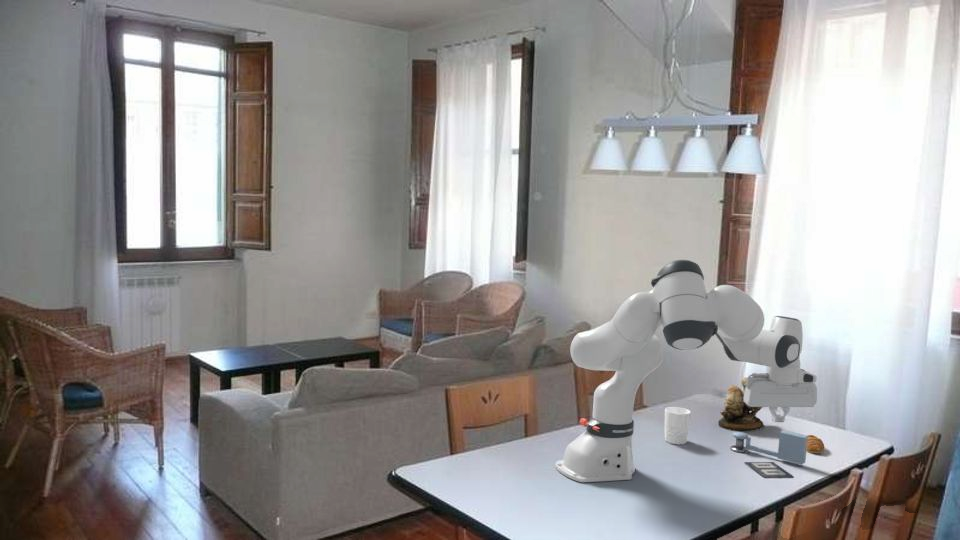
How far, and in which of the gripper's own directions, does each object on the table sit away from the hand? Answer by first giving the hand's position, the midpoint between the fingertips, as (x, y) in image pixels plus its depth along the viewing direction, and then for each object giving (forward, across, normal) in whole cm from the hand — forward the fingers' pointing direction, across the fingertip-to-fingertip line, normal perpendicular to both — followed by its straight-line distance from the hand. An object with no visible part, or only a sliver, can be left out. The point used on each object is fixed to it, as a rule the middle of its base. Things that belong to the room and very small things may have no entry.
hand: (777, 421), depth 207 cm
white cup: (+15, -18, +27) cm, 36 cm away
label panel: (+15, 0, +3) cm, 15 cm away
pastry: (+16, +24, +20) cm, 35 cm away
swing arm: (+14, +5, +13) cm, 20 cm away
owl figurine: (+15, +13, +43) cm, 48 cm away
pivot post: (+15, -1, +19) cm, 24 cm away
